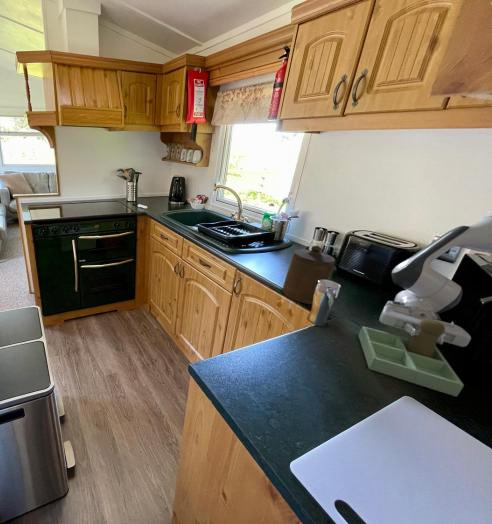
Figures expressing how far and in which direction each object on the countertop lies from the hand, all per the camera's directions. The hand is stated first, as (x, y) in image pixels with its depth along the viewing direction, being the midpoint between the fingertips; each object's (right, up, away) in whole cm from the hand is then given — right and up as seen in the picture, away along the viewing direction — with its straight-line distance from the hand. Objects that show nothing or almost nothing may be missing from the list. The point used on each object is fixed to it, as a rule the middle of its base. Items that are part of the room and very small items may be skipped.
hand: (427, 338), depth 83 cm
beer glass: (-20, +1, +20) cm, 28 cm away
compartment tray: (-6, -7, +2) cm, 10 cm away
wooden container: (-15, +8, +39) cm, 42 cm away
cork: (0, -5, +3) cm, 6 cm away
